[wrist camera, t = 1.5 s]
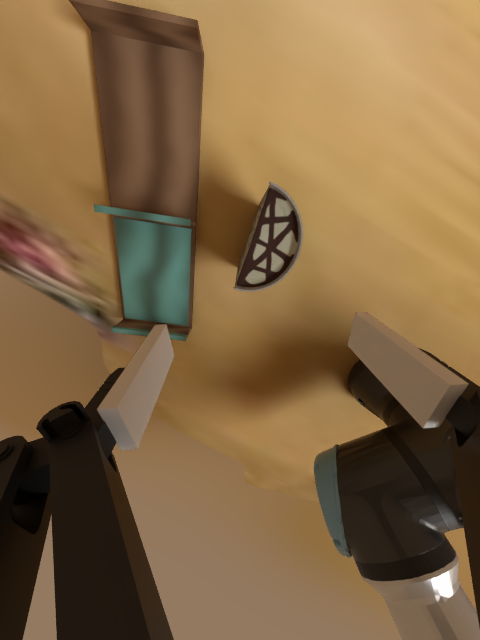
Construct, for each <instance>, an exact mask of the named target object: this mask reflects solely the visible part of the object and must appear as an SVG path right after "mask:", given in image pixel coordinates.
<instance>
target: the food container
mask: <svg viewBox="0 0 480 640" xmlns="http://www.w3.org/2000/svg"><path fill="white" fill-rule="evenodd" d="M269 184H270V185H269V187H268V189H267V191H266V193H265V195H264V196H263V198H262V200H261V202H260V204H259V206H258V208H257V211H256V214H255V217H254V220H253V223H252V226H251V229H250V232H249V235H248V238H247V241H246V244H245V247H244V250H243V253H242V256H241V259H240V262H239V265H238V269H237V276H236V283H235V287H234V289H236V290H240V291H258V290H263V289H266V288H268V287H271V286H272V285H274V284H276V283H278V282H279V281H280V280H282V279H283V278H284V277H285V276H286V275H287V274H288V273H289V271H290V270H291V269H292V267H293V266H294V264H295V262H296V260H297V259H298V256H299V253H300V250H301V246H302V239H303V228H302V221H301V217H300V214H299V211H298V209H297V206H296V205H295V203H294V201H293V200H292V198H291V197H290V196H289V195H288V194H287V193H286V191H284V190H283V189H282V188H281V187H279V186H278V185H276V184H274V183H272V182H270V183H269Z"/></svg>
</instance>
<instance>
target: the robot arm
mask: <svg viewBox="0 0 480 640" xmlns="http://www.w3.org/2000/svg"><path fill="white" fill-rule="evenodd" d="M347 346H348V347H349V348H350V349H351V350H352V351H353V352H354V353H355V354H356V355H357V356H358V358H359V359H360V361H358V363H357V364H356V365H355V366H354V367H353V369H352V371H351V373H350V375H349V380H348V385H349V389H350V391H351V393H352V394H353V396H354V397H355V398H356V400H357V401H358V402H359V403H360V404H361V405H363V406H364V407H365V408H367V409H368V410H369V411H371V412H372V413H373V414H375V415H376V416H377V417H379V418H380V419H381V420H383V421H384V422H385V424H386V425H387V426H388V427H387V428H384V429H382V430H379V431H376V432H373V433H371V434H368V435H365V436H362V437H360V438H357V439H354V440H352V441H349V442H346V443H343V444H341V445H337V444H336V445H334V447H333V448H330V449H328V450H326V451H324V452H321V453H320V454H318V455H317V457H316V458H315V462H314V476H315V483H316V489H317V493H318V497H319V502H320V505H321V509H322V512H323V516H324V519H325V522H326V525H327V528H328V530H329V533H330V535H331V537H332V538H333V541H334V544H335V546H336V548H337V550H338V551H339V553H340V554H342V555H344V556H347V557H351V556H353V557H354V560H355V562H356V564H357V567H358V569H359V571H360V574H361V576H362V578H363V580H364V581H366V582H367V583H368V584H369V585H370V586H372V587H373V588H374V589H375V590H377V591H378V592H379V593H380V594H381V595H382V596H383V598H384V599H385V601H386V604H387V605H388V608H389V610H390V613H391V615H392V617H393V620H394V622H395V624H396V627H397V629H398V631H399V633H400V636H401V638H402V640H480V387H479V386H478V385H476V384H475V383H473V382H472V381H470V380H469V379H467V378H466V377H464V376H463V375H461V374H460V373H459V372H457V371H456V370H454V369H453V368H451V367H448V365H447V364H445V363H444V362H442V361H440V360H439V359H438V358H437V357H435V356H434V355H432V354H431V353H429V352H426V351H424V350H422V349H420V348H417V347H416V346H414V345H413V344H411V343H410V342H408V341H407V340H406V339H404V338H403V337H401V336H400V335H398V334H397V333H396V332H394V331H393V330H391V329H390V328H388V327H387V326H386V325H384V324H383V323H381V322H380V321H378V320H377V319H376V318H374V317H373V316H371V315H370V314H368V313H367V312H359V313H355V317H354V321H353V325H352V329H351V333H350V337H349V340H348V344H347ZM173 359H174V352H173V348H172V344H171V340H170V337H169V333H168V329H167V325H166V324H162V325H155V326H154V327H153V329H152V330H151V332H150V333H149V335H148V336H147V337H146V339H145V340H144V342H143V343H142V345H141V346H140V348H139V349H138V350H137V352H136V353H135V355H134V356H133V358H132V359H131V361H130V362H129V364H128V365H127V366H126V368H118V369H117V370H116V371H114V372H113V373H112V374H110V376H109V377H108V378H107V379H106V381H105V382H104V384H103V385H102V386H101V387H100V389H99V391H97V393H96V394H95V395H94V397H93V398H92V399H91V401H90V402H89V403H88V405H87V406H86V407H85V408H84V407H83V405H82V404H81V403H80V402H77V401H73V402H67V403H64V404H61V405H59V406H57V407H55V408H54V409H52V410H50V411H49V412H48V413H47V414H46V415H44V416H43V417H42V419H41V420H40V421H39V422H38V425H37V428H36V429H37V430H38V431H39V432H40V433H41V434H42V435H43V438H40V439H37V440H34V441H31V442H27V441H26V439H24V437H23V436H13V437H10V438H7V439H5V440H2V441H0V640H22V639H23V634H24V630H25V626H26V622H27V617H28V613H29V608H30V604H31V600H32V596H33V591H34V587H35V583H36V578H37V574H38V569H39V565H40V561H41V557H42V552H43V548H44V543H45V539H46V535H47V530H48V526H49V521H50V517H51V513H52V535H53V559H54V582H55V604H56V626H57V627H56V628H57V640H174V639H173V636H172V633H171V630H170V627H169V624H168V621H167V618H166V615H165V612H164V608H163V605H162V602H161V599H160V596H159V593H158V590H157V587H156V584H155V581H154V578H153V575H152V572H151V568H150V565H149V562H148V559H147V556H146V553H145V550H144V547H143V544H142V541H141V538H140V535H139V532H138V529H137V525H136V522H135V519H134V516H133V513H132V510H131V507H130V504H129V501H128V498H127V495H126V492H125V489H124V486H123V483H122V480H121V477H120V473H119V471H118V467H117V464H116V461H115V458H114V455H113V454H112V450H113V448H114V446H115V444H116V443H117V445H118V447H119V448H120V450H131V449H138V447H139V444H140V442H141V439H142V437H143V434H144V432H145V429H146V427H147V424H148V422H149V419H150V417H151V414H152V412H153V409H154V407H155V404H156V402H157V399H158V397H159V394H160V392H161V389H162V387H163V384H164V382H165V379H166V376H167V374H168V371H169V369H170V366H171V364H172V361H173ZM459 528H464V531H465V538H466V544H467V550H468V557H469V563H470V570H471V576H472V583H473V589H474V595H475V602H476V609H477V611H476V609H475V607H474V606H473V604H472V602H471V601H470V599H469V598H468V596H467V594H466V593H465V591H464V589H463V588H462V586H461V585H460V583H459V580H458V564H459V557H458V555H457V553H456V551H455V550H454V549H453V547H452V546H451V544H450V542H449V541H448V539H447V538H446V536H445V534H444V533H445V532H448V531H450V530H454V529H459Z"/></svg>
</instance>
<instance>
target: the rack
mask: <svg viewBox="0 0 480 640" xmlns="http://www.w3.org/2000/svg"><path fill="white" fill-rule="evenodd" d="M69 1H70V2H71V4H72V5H73V7H74V8H75V9H76V11H77V12H78V13H79V15H80V16H81V17H82V19H83V20H84V22H85V23H86V24H87V26H88V27H89V28H90V30H91V35H92V44H93V53H94V62H95V71H96V80H97V89H98V98H99V106H100V115H101V124H102V133H103V142H104V151H105V160H106V169H107V178H108V187H109V196H110V205H111V207H107V206H101V205H94V210H95V212H101V213H107V214H112V223H113V232H114V241H115V250H116V259H117V268H118V277H119V285H120V294H121V303H122V312H123V320H122V321H121V322H119V323H118V324H117V325H115V326H113V327H112V328H111V330H112V332H115V333H123V334H132V335H140V336H148V335H149V333H150V332H151V330H152V329H153V327H154V326H155V325H162V324H166V325H167V329H168V333H169V337H170V339H174V340H182V341H186V339H187V336H188V334H189V332H190V330H191V328H192V311H193V289H194V267H195V245H196V223H197V201H198V179H199V157H200V135H201V112H202V90H203V68H204V51H203V46H202V41H201V36H200V31H199V26H198V21H197V20H194V19H190V18H185V17H181V16H176V15H171V14H167V13H162V12H158V11H153V10H148V9H144V8H139V7H135V6H130V5H125V4H121V3H116V2H112V1H107V0H69Z"/></svg>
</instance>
